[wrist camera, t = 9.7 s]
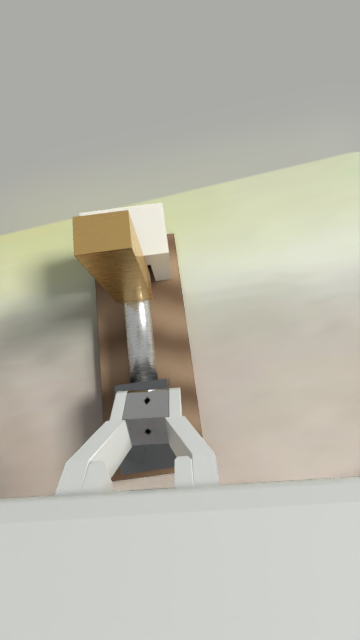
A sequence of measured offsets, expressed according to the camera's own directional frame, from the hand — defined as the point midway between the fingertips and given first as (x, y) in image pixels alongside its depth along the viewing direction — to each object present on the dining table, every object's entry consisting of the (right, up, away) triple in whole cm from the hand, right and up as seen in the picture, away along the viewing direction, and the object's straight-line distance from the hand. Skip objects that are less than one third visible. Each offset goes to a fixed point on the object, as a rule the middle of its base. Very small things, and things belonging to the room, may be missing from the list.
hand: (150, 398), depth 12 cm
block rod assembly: (-4, +5, +19) cm, 20 cm away
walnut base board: (-3, +1, +20) cm, 20 cm away
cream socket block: (-4, +11, +21) cm, 25 cm away
